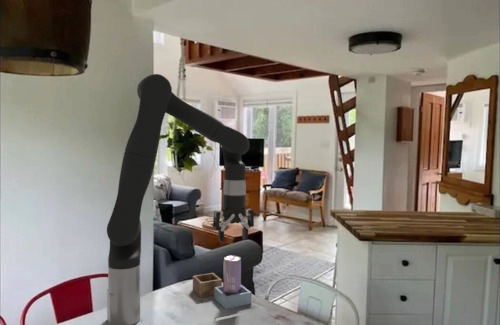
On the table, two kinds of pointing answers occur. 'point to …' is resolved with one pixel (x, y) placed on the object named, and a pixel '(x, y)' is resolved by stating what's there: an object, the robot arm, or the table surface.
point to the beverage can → (232, 275)
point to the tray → (232, 297)
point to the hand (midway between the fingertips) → (233, 240)
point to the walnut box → (206, 284)
